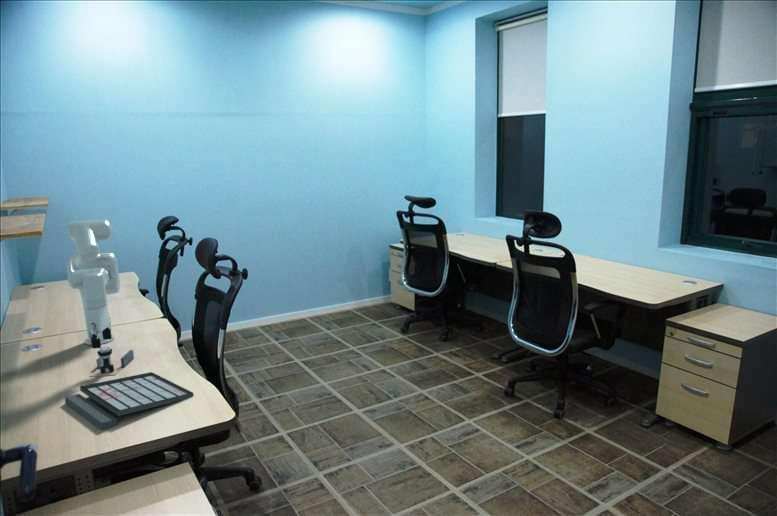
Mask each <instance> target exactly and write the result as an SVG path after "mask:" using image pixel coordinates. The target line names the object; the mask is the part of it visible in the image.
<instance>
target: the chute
mask: <svg viewBox="0 0 777 516" xmlns="http://www.w3.org/2000/svg"><path fill="white" fill-rule="evenodd" d="M108 358H109V356H108ZM134 359H135V355H134V349H130V350H129V351H127V352H126V353H125V354H124V355H123V356H122V357H121V358H120V364H121V368H122V369H123V368H126V367H127V366H128V365H129V364H130V363H131V362H132V361H133V360H134ZM95 361H96V368H97V369H96V370H99V369H100V367H101V365H102V364H101V356H99V357H98V358H97V359H96V360H95ZM103 364H104V363H103ZM103 366H104V365H103Z"/></svg>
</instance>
